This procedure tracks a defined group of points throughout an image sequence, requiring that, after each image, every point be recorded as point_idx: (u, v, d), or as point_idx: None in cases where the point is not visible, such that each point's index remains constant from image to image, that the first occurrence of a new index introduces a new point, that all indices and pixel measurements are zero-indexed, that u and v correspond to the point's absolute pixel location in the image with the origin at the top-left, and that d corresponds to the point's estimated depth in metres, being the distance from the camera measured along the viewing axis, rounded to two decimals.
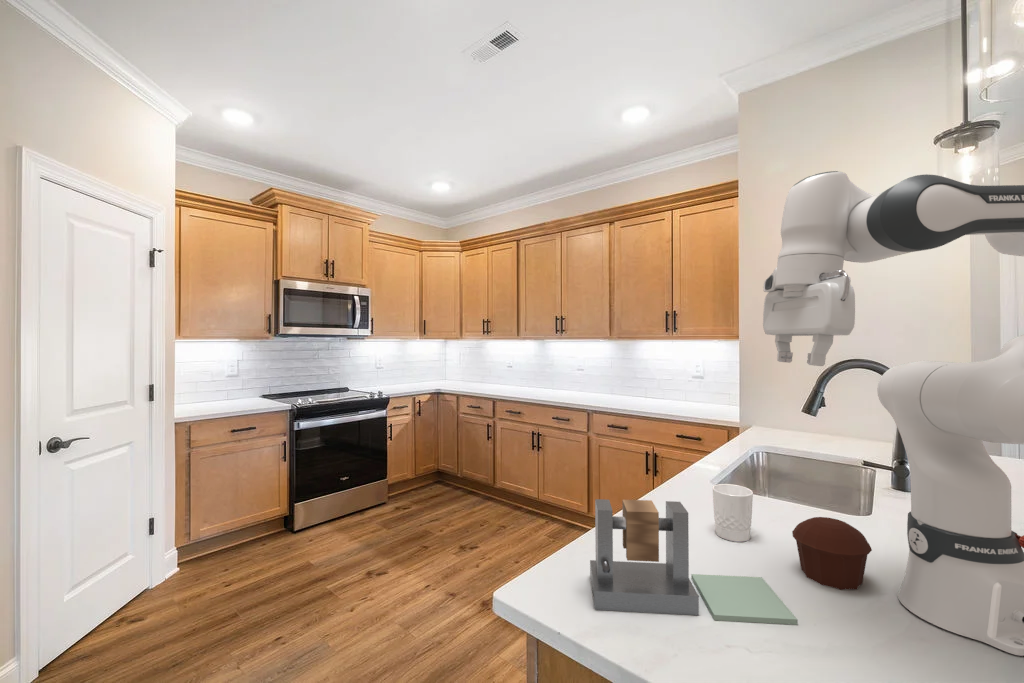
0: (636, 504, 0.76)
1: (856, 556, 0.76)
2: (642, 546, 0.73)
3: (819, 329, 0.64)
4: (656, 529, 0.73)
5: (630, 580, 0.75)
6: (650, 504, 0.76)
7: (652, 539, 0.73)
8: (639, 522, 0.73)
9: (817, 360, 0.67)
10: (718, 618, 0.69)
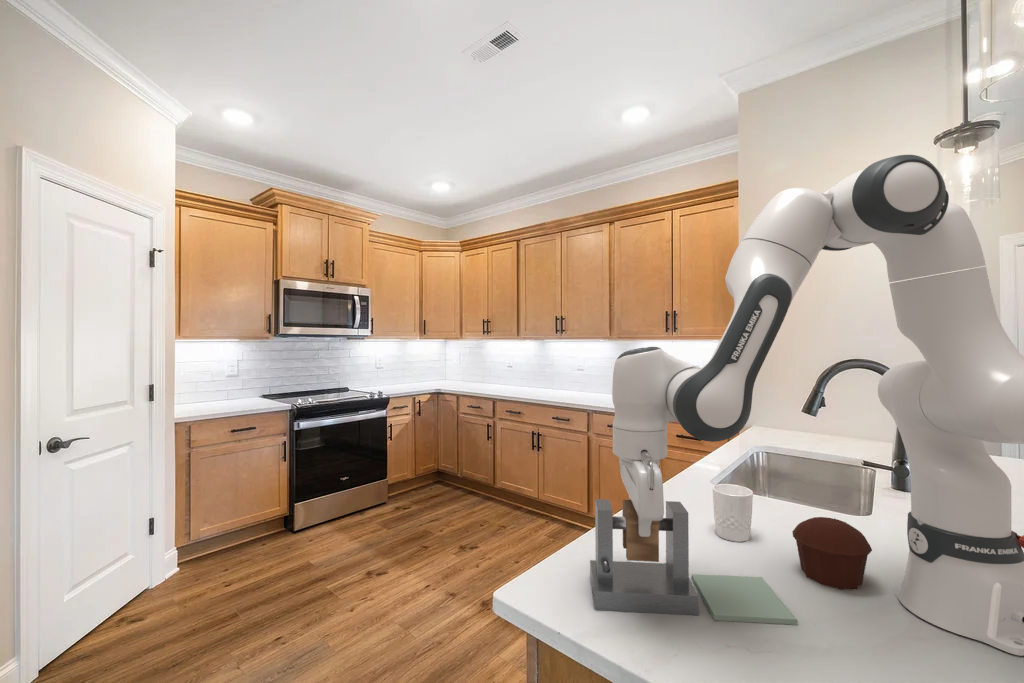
0: None
1: (856, 556, 0.76)
2: (642, 546, 0.73)
3: (637, 513, 0.68)
4: (656, 529, 0.73)
5: (630, 580, 0.75)
6: None
7: (652, 539, 0.73)
8: None
9: (643, 531, 0.72)
10: (718, 618, 0.69)
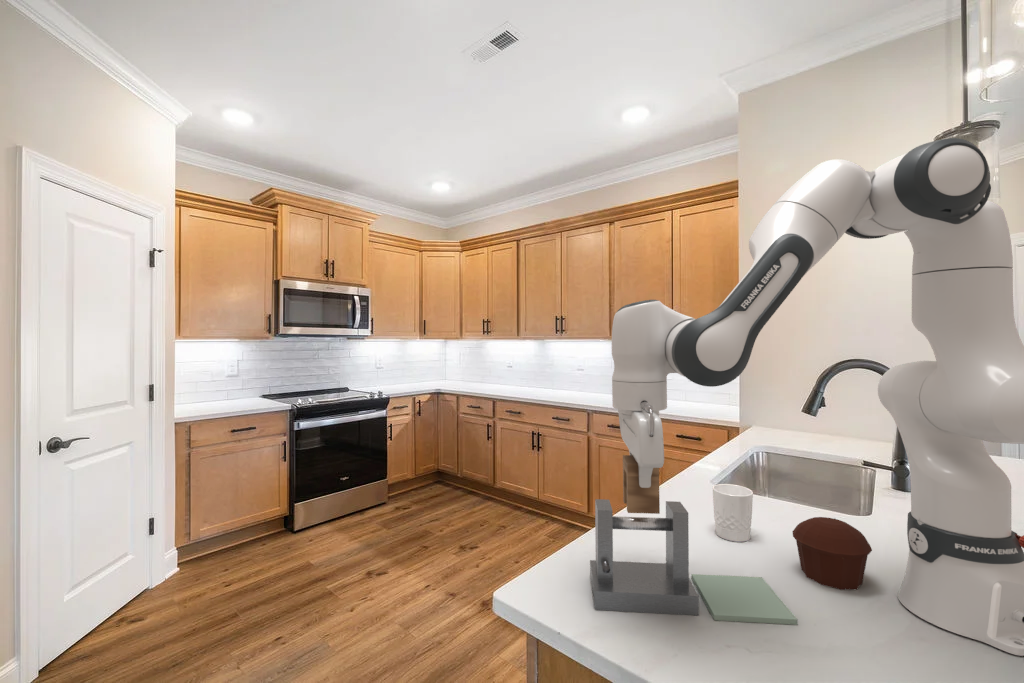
0: None
1: (856, 556, 0.76)
2: (643, 498, 0.73)
3: (637, 461, 0.68)
4: (656, 481, 0.73)
5: (630, 580, 0.75)
6: None
7: (653, 491, 0.73)
8: None
9: (643, 482, 0.72)
10: (718, 618, 0.69)
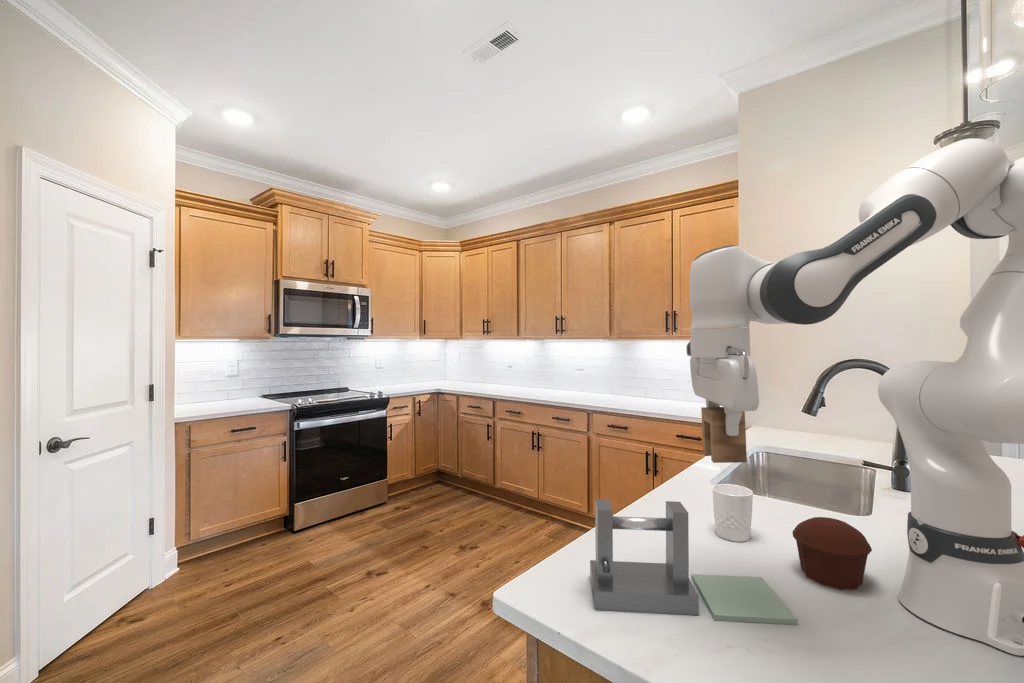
0: (718, 409, 0.75)
1: (856, 556, 0.76)
2: (729, 447, 0.72)
3: (729, 406, 0.66)
4: (743, 429, 0.71)
5: (630, 580, 0.75)
6: None
7: (739, 439, 0.71)
8: None
9: (731, 430, 0.70)
10: (718, 618, 0.69)
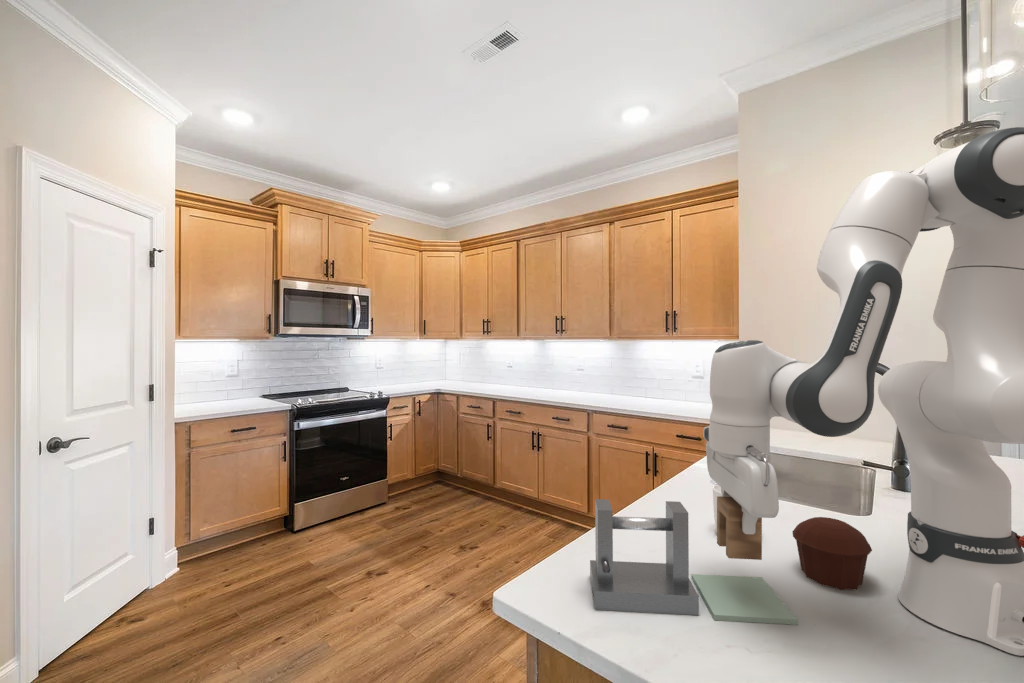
0: (734, 501, 0.75)
1: (856, 556, 0.76)
2: (744, 544, 0.72)
3: (747, 510, 0.66)
4: (759, 526, 0.71)
5: (630, 580, 0.75)
6: None
7: (755, 537, 0.71)
8: None
9: (748, 529, 0.70)
10: (718, 618, 0.69)
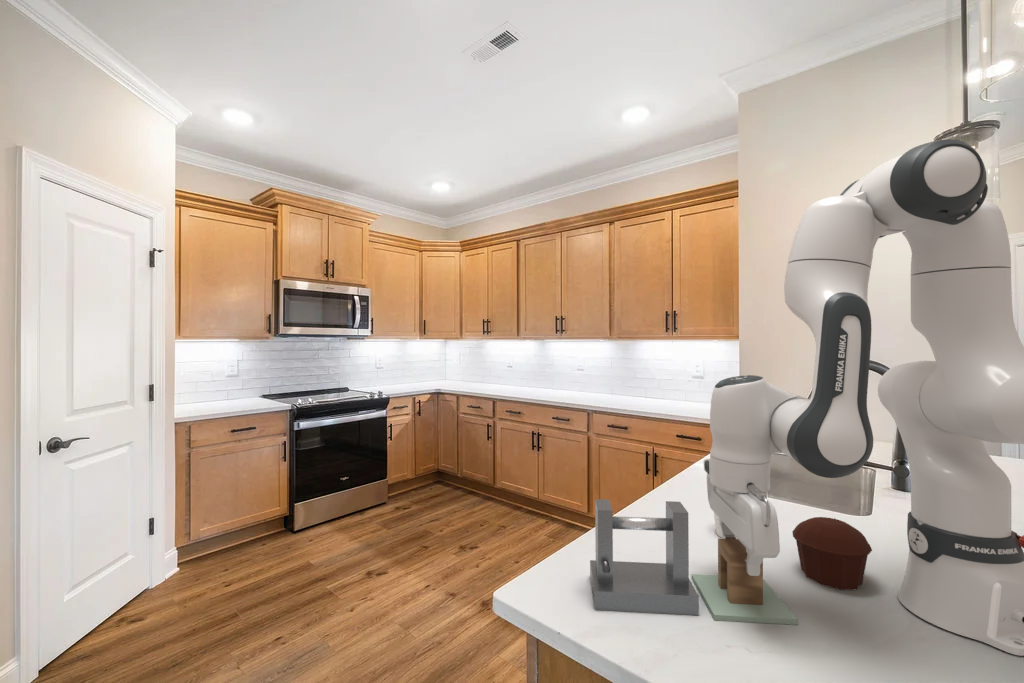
0: (735, 545, 0.75)
1: (856, 556, 0.76)
2: (745, 589, 0.72)
3: (748, 549, 0.66)
4: (760, 571, 0.71)
5: (630, 580, 0.75)
6: None
7: (756, 582, 0.71)
8: (742, 564, 0.72)
9: (752, 570, 0.69)
10: (718, 618, 0.69)
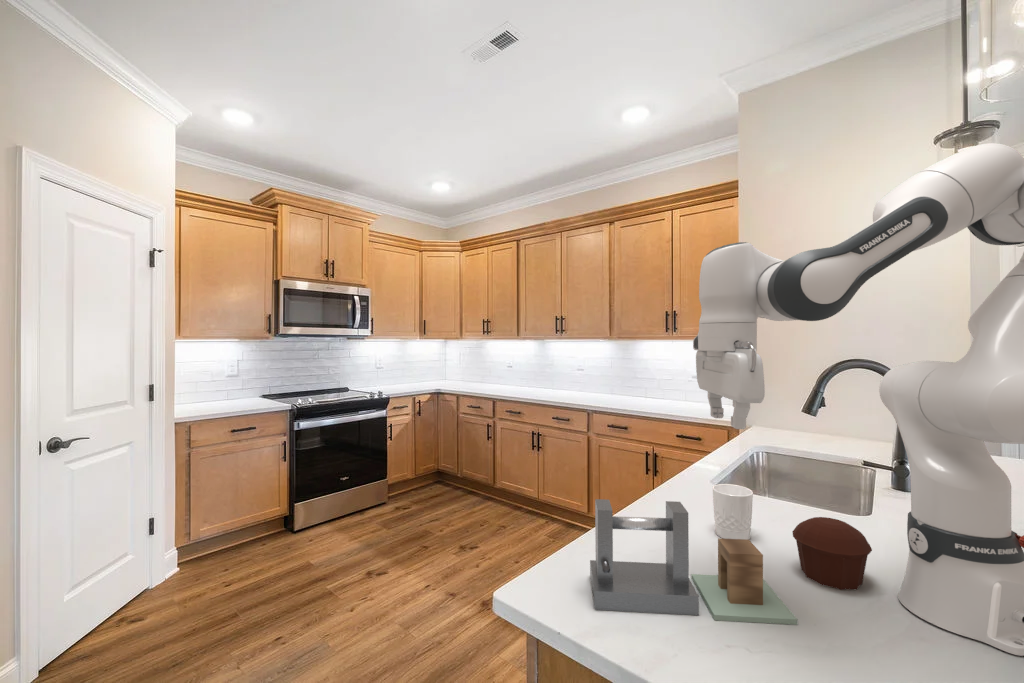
0: (735, 545, 0.75)
1: (856, 556, 0.76)
2: (745, 589, 0.72)
3: (735, 398, 0.68)
4: (760, 571, 0.71)
5: (630, 580, 0.75)
6: (749, 544, 0.75)
7: (756, 582, 0.71)
8: (742, 564, 0.72)
9: (738, 424, 0.71)
10: (718, 618, 0.69)
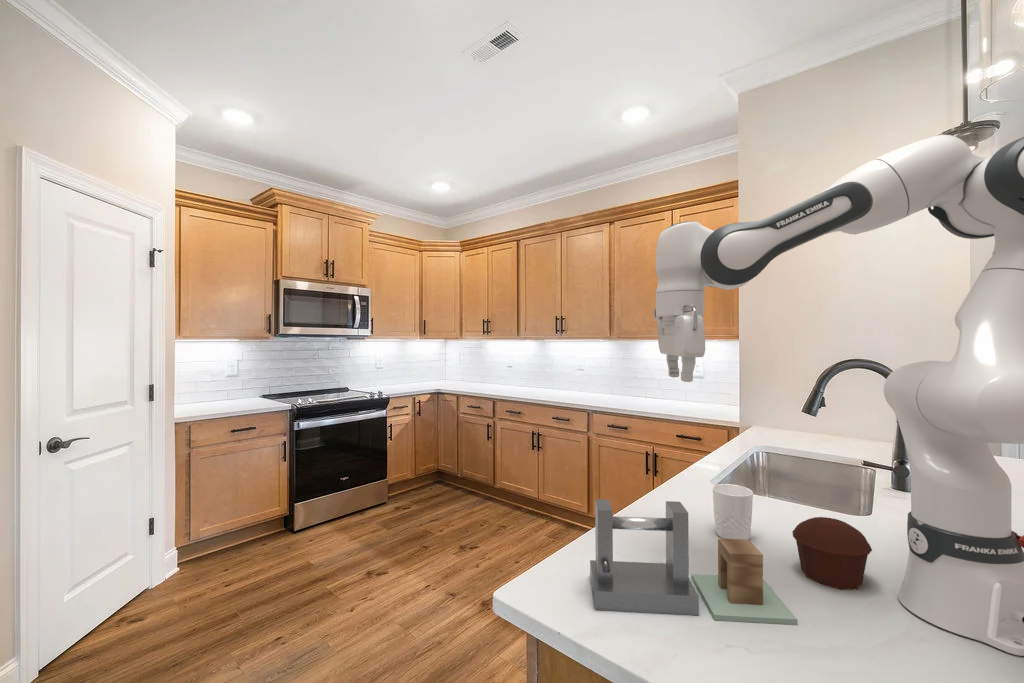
0: (735, 545, 0.75)
1: (856, 556, 0.76)
2: (745, 589, 0.72)
3: (681, 353, 0.80)
4: (760, 571, 0.71)
5: (630, 580, 0.75)
6: (749, 544, 0.75)
7: (756, 582, 0.71)
8: (742, 564, 0.72)
9: (686, 377, 0.82)
10: (718, 618, 0.69)
